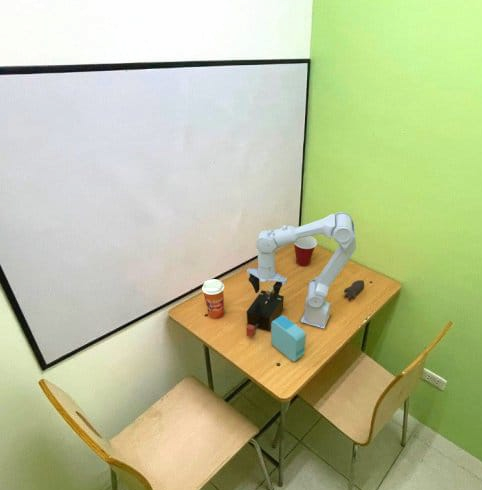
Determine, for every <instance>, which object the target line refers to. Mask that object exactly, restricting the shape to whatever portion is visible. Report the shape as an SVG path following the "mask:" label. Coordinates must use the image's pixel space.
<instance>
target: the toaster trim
mask: <svg viewBox="0 0 482 490" xmlns="http://www.w3.org/2000/svg"><path fill="white" fill-rule="evenodd" d="M264 302H265V301H262V300H260V301H259V302H258V304H257V305H256V307H255V308H254V309H253V311H255V312H258V311H259V310H260V308H261V307H262V305H263V304H264ZM272 305H273V303H269V302H268V303H267V305H266V306H265V308H264V309H263V311H262V312H261V313H262V314H265V315H266V314H267V312H268V311H269V309H270V308H271V306H272ZM256 317H257V324H259V326H260V315H256Z"/></svg>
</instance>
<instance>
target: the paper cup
mask: <svg viewBox="0 0 482 490" xmlns="http://www.w3.org/2000/svg"><path fill="white" fill-rule="evenodd" d="M224 289H225V285H224V283H223V282H222V281H221V280H219V279H215V278H211V279H208V280H206V281H204V282H203V285H202V287H201V290H202V292H203V297H204V301H205V304H206V309H207V313H208V316H209V317H210V318H211V319H220V318H222V317H223V316H224V314H225V301H224V297H225V296H224Z"/></svg>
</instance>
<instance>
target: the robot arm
mask: <svg viewBox="0 0 482 490" xmlns="http://www.w3.org/2000/svg"><path fill="white" fill-rule="evenodd" d="M317 235H323V236H325V237H326V238H328V239H329V240H331V239H332V238H333V240H334V241H335V242H336V244H338V247H337V249H336V250H335V251H334V252H333V254H332V255H331V257H330V258H329V260H328V261H327V263H326V264H325V266H324V267H323V269H322V271H321V272H320V273H319V275H315V277H314V278H313V279H312V280H310V281H309V282H308V283H307V295H306V297H305V300H304V301H305V303H304V313H303V315H302V317H301V318H300V323H303V324H306V325H309V326H313V327H315V328H320V329H325V328H326V325H327V323H328V321H329V320H330V317H331V308H332V303H331V302H329V301H327V300H326V297H327V296H328V292H329V289H330V286H331V285H332V284H333V283H334V281H335V279H336V278H337V277H338V275H339V274H340V273H341V271H342V270H343V268H344V267H345V266H346V264H347V263H348V262H349V260H350V259H351V257H352V256H353V255H354V253H355V252H356V251H357V243H356V242H357V241H356V240H357V239H356V229H355V222H354V220H353V218H352V216H351V214H350V213H348V212H345V211H339V212H336V213H331V214H329V215H327V216H326V217H324V218H321V219H318V220H314V221H312V222H310V223H306V224H303V225H300V226H297V227H296V226H293V225H286V224H284V225H282V226H281V227H280V228H277V229H269V230H268V229H265V230H262V231H260V232H259V234H258V237H257V240H256V244H255V245H256V249H257V268H254V267H248V268H247V270H246V275H247V276H249V277H248V282H249V283H250V284H251V286H252V287H253V290H254V294H258V293H259V292H260V289H261V288H260V287H261V285H260V283H266V282H273V283H274V282H275V283H274V284H273V285H272V286H273V288H274V298H275V299H277V297H278V295H280V291H281V288H283V286H285V285H286V284H287V283H288V278H287V277H285V276H283V275H281V274H279V273H278V272H276V251H275V250H276V249H277V248H281V247H284V246H288V245H294V243H296V241H297V239H298V238H302V237H307V236H311V237H313V236H317Z"/></svg>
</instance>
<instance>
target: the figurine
mask: <svg viewBox="0 0 482 490" xmlns="http://www.w3.org/2000/svg"><path fill="white" fill-rule="evenodd" d="M364 288H365V280H363V279H362V280H361V279H358V280H355V281H354V282H352V283H351V285H350V286H348V287H346V288H345V289H344V290H343V293H344V298H347V300H348V301H349V302H350V301H351V300H352V299H354V300H356V297H357V295H358V294H359V293H360V292H361V291H363V290H364Z"/></svg>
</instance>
